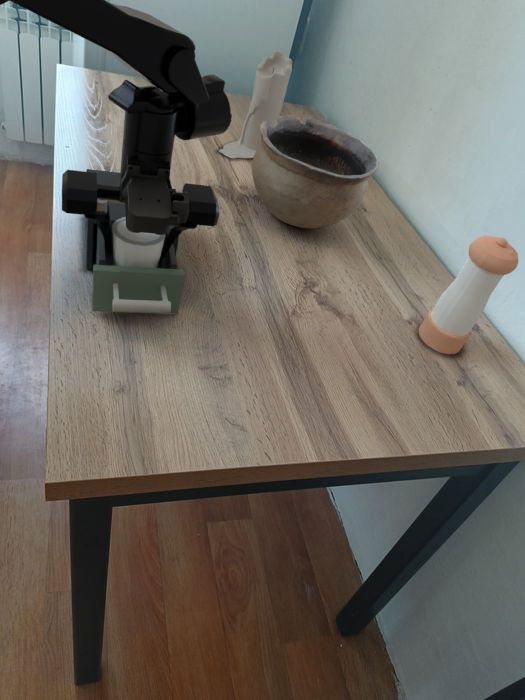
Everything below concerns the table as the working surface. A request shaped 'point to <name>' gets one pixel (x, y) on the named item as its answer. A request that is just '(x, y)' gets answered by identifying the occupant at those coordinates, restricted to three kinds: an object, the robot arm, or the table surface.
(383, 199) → the table surface
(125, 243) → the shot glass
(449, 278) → the table surface
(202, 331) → the table surface
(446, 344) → the salt shaker
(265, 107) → the candle
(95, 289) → the drawer
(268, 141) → the ceramic bowl
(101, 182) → the cabinet
